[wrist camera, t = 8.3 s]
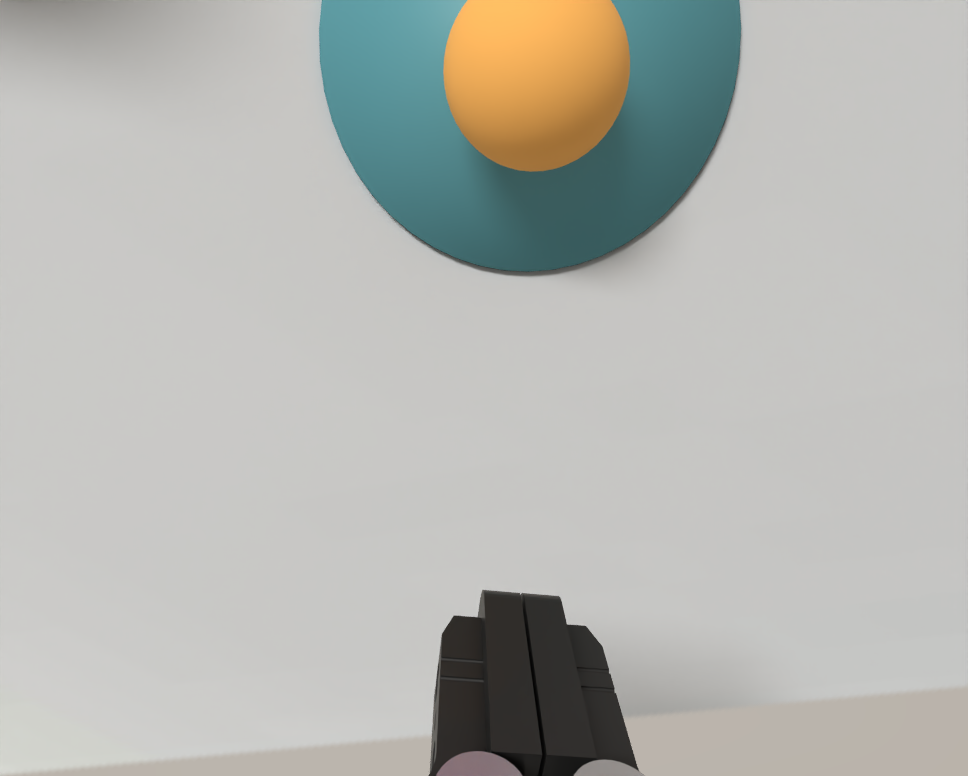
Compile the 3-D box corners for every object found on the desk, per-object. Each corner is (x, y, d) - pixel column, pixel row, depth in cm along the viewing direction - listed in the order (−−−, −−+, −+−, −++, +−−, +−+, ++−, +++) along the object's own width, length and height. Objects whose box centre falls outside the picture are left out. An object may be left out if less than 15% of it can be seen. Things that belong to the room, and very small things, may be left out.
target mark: (788, -159, 19) (791, -162, 19) (685, 291, 24) (687, 292, 24) (329, -238, 18) (328, -243, 18) (313, 246, 23) (311, 247, 23)
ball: (690, -15, 16) (612, 204, 18) (626, 13, 21) (571, 181, 23) (479, -95, 15) (423, 148, 17) (465, -44, 20) (424, 138, 22)
